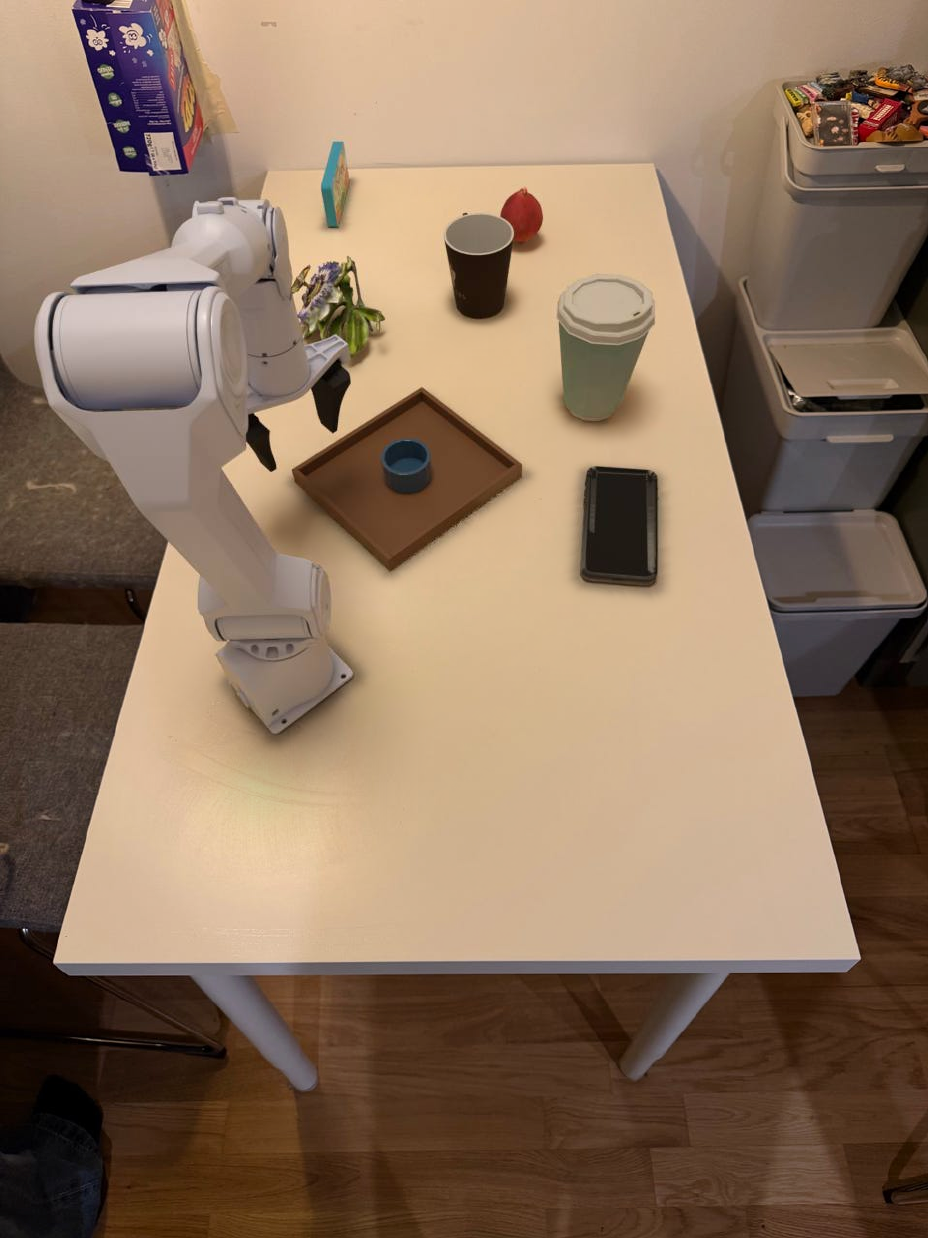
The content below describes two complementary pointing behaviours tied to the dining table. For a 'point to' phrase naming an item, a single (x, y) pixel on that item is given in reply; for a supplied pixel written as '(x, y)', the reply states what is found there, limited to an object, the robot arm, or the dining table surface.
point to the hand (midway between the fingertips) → (299, 445)
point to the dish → (406, 465)
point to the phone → (620, 526)
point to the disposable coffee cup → (601, 341)
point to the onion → (523, 215)
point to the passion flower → (335, 305)
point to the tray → (406, 521)
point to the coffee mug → (479, 262)
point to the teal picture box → (335, 184)
